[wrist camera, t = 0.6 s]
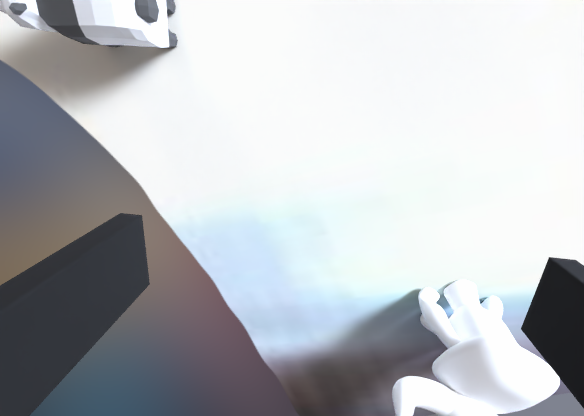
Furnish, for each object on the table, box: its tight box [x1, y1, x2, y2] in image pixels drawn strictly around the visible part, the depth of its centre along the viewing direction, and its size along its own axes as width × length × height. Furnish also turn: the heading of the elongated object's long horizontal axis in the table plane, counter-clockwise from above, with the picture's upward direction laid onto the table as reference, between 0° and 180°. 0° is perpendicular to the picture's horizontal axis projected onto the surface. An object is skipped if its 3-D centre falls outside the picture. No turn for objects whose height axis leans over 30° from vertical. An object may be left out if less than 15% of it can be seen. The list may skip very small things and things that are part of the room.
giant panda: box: [0, 0, 177, 48], centre depth 30 cm, size 15×6×10 cm, turn 87°
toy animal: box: [392, 280, 560, 416], centre depth 34 cm, size 20×12×17 cm, turn 59°
